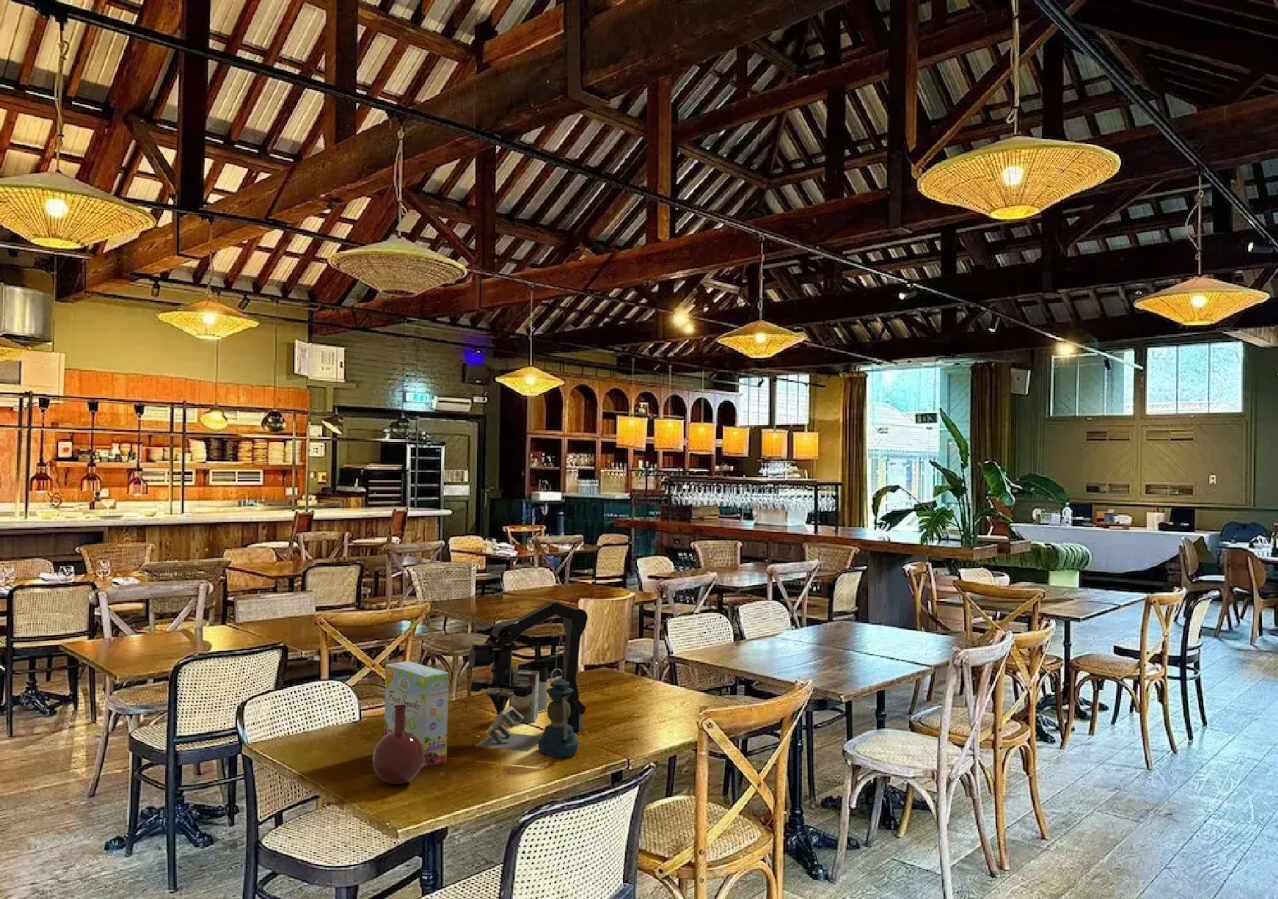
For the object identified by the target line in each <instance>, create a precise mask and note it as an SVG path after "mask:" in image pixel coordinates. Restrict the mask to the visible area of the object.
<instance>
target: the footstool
mask: <svg viewBox="0 0 1278 899" xmlns="http://www.w3.org/2000/svg"><path fill="white" fill-rule="evenodd" d="M510 713H511V714H512V715H513V716H514V717H515V718H516V719H517V720H518V721H519V722H518V723H522V722H521V721H522V720H523V718H524V717H523V716H522V715H521V714H520V713H519V712H518V711H517V710H515V709H514V708H513V707H512V706H510V707H509V706H508V707H507V708H504V710H503V711H501V712H500V714H499V715H498V714H497V717H496V718H495V719H494V720H493V721H492V723H491V724H490V725H489V727H488V728H487V730H486V731H485V733H486V734H487V735H489V737H490V736H491V737H492V738H493V739H494V740H495V741H496V742H497V743H498V744H500V743H501V742H502V741H503V739H502V738H501V737H500V736H499V735H498V734H497V733H496V732H497V730H498V732H501V733H503V734H504V735H505V736H506V737H507V738H509V737H510V736H511V734H512V732H511V731H510V730H509V729H508V728H506V726H504V725H503V724H504V722H505V723H506V724H507V725H508V726H509V727H510V728H513V727H514V726H515V725H516V722H515V721H513V720H512V719H511V718H510V717H509V714H510Z"/></svg>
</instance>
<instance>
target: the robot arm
mask: <svg viewBox="0 0 1278 899" xmlns="http://www.w3.org/2000/svg"><path fill="white" fill-rule="evenodd" d="M554 616H557V617H560V618H561V619H562V624H563V625H562V626H563V629H564V632H565V642H564V655H563V659H562V660H563V661H562V668H561V671H562V674H561V678H560V679H562V680H565V681H567V682H569V686H568V687H567V688H571V689H573V692H572V693H571V696H569V697H568V700H567V702H568V703H569V705H570V716H569V718H568V719H567V723H568V725H570V726H572V727H573V732H574V733H575V734H579V733H580V732H581V731H583V730H584V729H585V728H584V727H583V715H584V714H585V712H586V706H585V705H584V704H583V703H582V701H580V694H579V693H580V692H579V688H578V684H577V671H578V662H579V656H580V655H579V653H580V643H581V637H582V635H583V633H584V631H585V629H586V626H587V622H588V617H589V616H588V613H587V612H586V610H584V609H583V608H579V607H575V606H566V605H563V604H561V603H560V602H558V601H554V600H550V601H548V602H547V603H545V604H543V605H541V606H539V607H537V608H535V609H533V610H531V611H530V612H527V613H526V614H524V615H522V616H520V617H518V618H514V619H510V620H509V619H508V620H505V621H502V622H498V623H496V624H495V625H494V626H493V628H492V631H491V633H490V635H489V636H488V638H487V639H486V640H485V641H484V643H483V644H476V643H475V644H474V643H473V644H471V648H470V650H469V653H468V654H467V655H468V656H467V660H468V663H469V667H470V668H481V667H490V666H492V668H491V669H490V673H492V677H491V678H492V680H491V681H492V682H490V680H489V679H486V678H485V679H483V678H478V679H475V680H473V681H472V682H471V683H470V685H469V691H470V692H475V693H479V692H481V691H482V690H487V692H488V693H486V696H488V697H490V700H491V701H492V703H493V706H494V708H495V711H496V713H497V714H496V715H497V716H498V715H499V714H500V712H501V711H503V710H505V709H506V706H507V703H508V702H509V698H510V696H512V695H514V694H515V696H520V697H526V696H528V695H530V694H532V690H533V688H532V686H531V684H524V683H520V684H518V685H516V686H512V685H511V684H517V682H518V676H519V674H517V673H515V672H513V670H514V667H513V665H512V664H513V663H512V662H513V651H519V650H520V648H519V647H518V646H517V645H516V643H515V642H514V641H515V640H517V639H518V638H520V636H521V635H522V634H523V633H524V632H525V631H526V630H529V629H531V628H532V627H534V626H536V625H540V624H541V623H542V622H545V621H546V620H548V619H550V618H552V617H554ZM564 656H565V663H564ZM565 665H566V677H565Z"/></svg>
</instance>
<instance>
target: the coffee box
mask: <svg viewBox="0 0 1278 899" xmlns="http://www.w3.org/2000/svg"><path fill="white" fill-rule="evenodd" d="M513 672H515V673H517V674H519V676H518V682H517V684H511V685H512V686H516V685H518V684H520V683H524V684H531V686H532V688H533V690H532V694H530V695H528V696H526V697H520V696H515V694H514V695H512V696H510V698H509V699H508V707H510V706H512V707H513V708H514V709H515V710H517V711H518V712H519V713H520V714H521V715H522V716H523V717H524V718H523V720H522V721H525V722H524V723H532V722H534V721H535V720H537V719H538V714H539V713H538V691H539V671H528V670H526V669H513ZM509 717H510V718H511V719H512V720H513V721H514V722H515V721H518V720H517V719H516V718H515V717H514V716H513V715H512V714H511V713H510V714H509ZM535 722H536V721H535ZM535 722H534V723H535Z"/></svg>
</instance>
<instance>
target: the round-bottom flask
mask: <svg viewBox="0 0 1278 899" xmlns="http://www.w3.org/2000/svg"><path fill="white" fill-rule="evenodd" d="M394 709H395V726H394V732H393V733H390V734H388V735H386V736H385V737H384V736H383V737H382V738H381V739H380V740H379V741H378V742H377V744H376V746H375V748H374V750H373V754H372V767H373V770H374V772H375V774H376V775H377V777H378V778H380V779H381V781H383V782H385V783H388V784H391V785H402V784H406V783H408V782H410V781H412V779H414V778H416V776H417V775H418V774H419V773H420V771H421V769H422V768H423V767H422V765H423V761H424V750H423V746H422V744H421V742H420V741H419V739H418V738H417V737H416V736H414V735H413V734H411V733H408V732H404V728H405V709H406V706H405V705H396V706H394Z"/></svg>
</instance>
